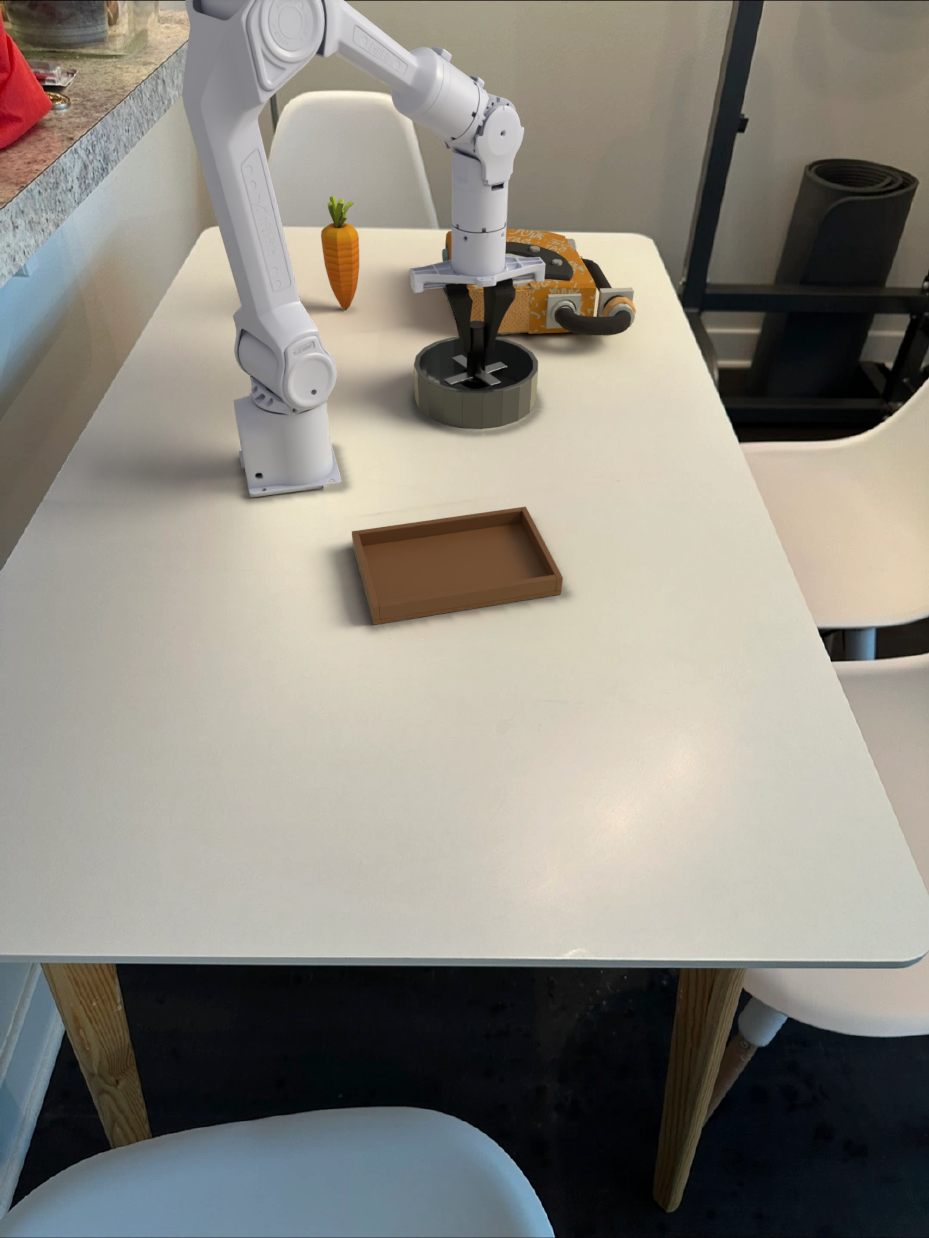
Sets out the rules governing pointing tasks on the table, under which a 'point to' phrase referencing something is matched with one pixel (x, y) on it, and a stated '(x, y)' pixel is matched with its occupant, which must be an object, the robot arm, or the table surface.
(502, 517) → the tray
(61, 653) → the table surface
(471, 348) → the blade
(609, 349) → the table surface
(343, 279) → the carrot
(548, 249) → the device
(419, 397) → the processor bowl
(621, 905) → the table surface
